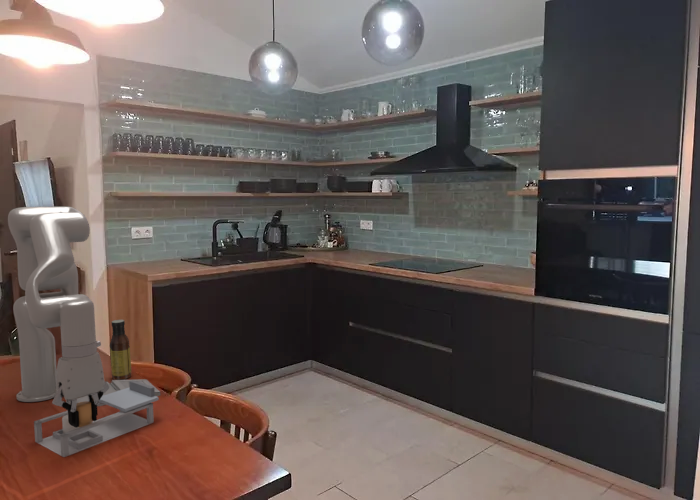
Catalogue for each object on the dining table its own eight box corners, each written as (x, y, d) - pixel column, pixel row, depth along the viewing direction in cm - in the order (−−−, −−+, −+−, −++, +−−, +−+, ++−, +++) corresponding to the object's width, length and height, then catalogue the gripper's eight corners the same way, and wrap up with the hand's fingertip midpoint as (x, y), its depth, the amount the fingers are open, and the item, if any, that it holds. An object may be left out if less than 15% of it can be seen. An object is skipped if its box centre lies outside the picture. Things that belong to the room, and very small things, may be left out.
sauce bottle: (121, 373, 188) (118, 317, 186) (135, 375, 186) (133, 319, 184) (106, 379, 182) (104, 321, 180) (121, 382, 180) (119, 323, 178)
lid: (96, 400, 147) (95, 389, 146) (130, 389, 155) (129, 378, 154) (124, 411, 139) (124, 399, 139) (158, 399, 147) (158, 388, 147)
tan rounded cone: (72, 424, 133) (70, 405, 133) (87, 419, 136) (86, 400, 136) (80, 428, 131) (79, 408, 130) (95, 423, 134) (94, 403, 133)
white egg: (60, 436, 137) (59, 417, 137) (75, 431, 140) (74, 412, 140) (67, 440, 135) (66, 420, 135) (82, 434, 138) (81, 415, 138)
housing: (35, 444, 134) (33, 421, 134) (124, 413, 154) (123, 392, 153) (64, 460, 126) (62, 435, 126) (153, 425, 146) (152, 403, 145)
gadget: (80, 415, 154) (79, 402, 154) (70, 399, 166) (69, 388, 166) (161, 397, 168) (160, 385, 167) (146, 383, 180) (145, 373, 179)
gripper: (103, 340, 141) (106, 408, 142) (36, 355, 127) (40, 431, 129) (119, 344, 136) (123, 415, 138) (51, 361, 123) (56, 438, 125)
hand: (83, 422), depth 133 cm, fingers closed on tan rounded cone, 3 cm apart
